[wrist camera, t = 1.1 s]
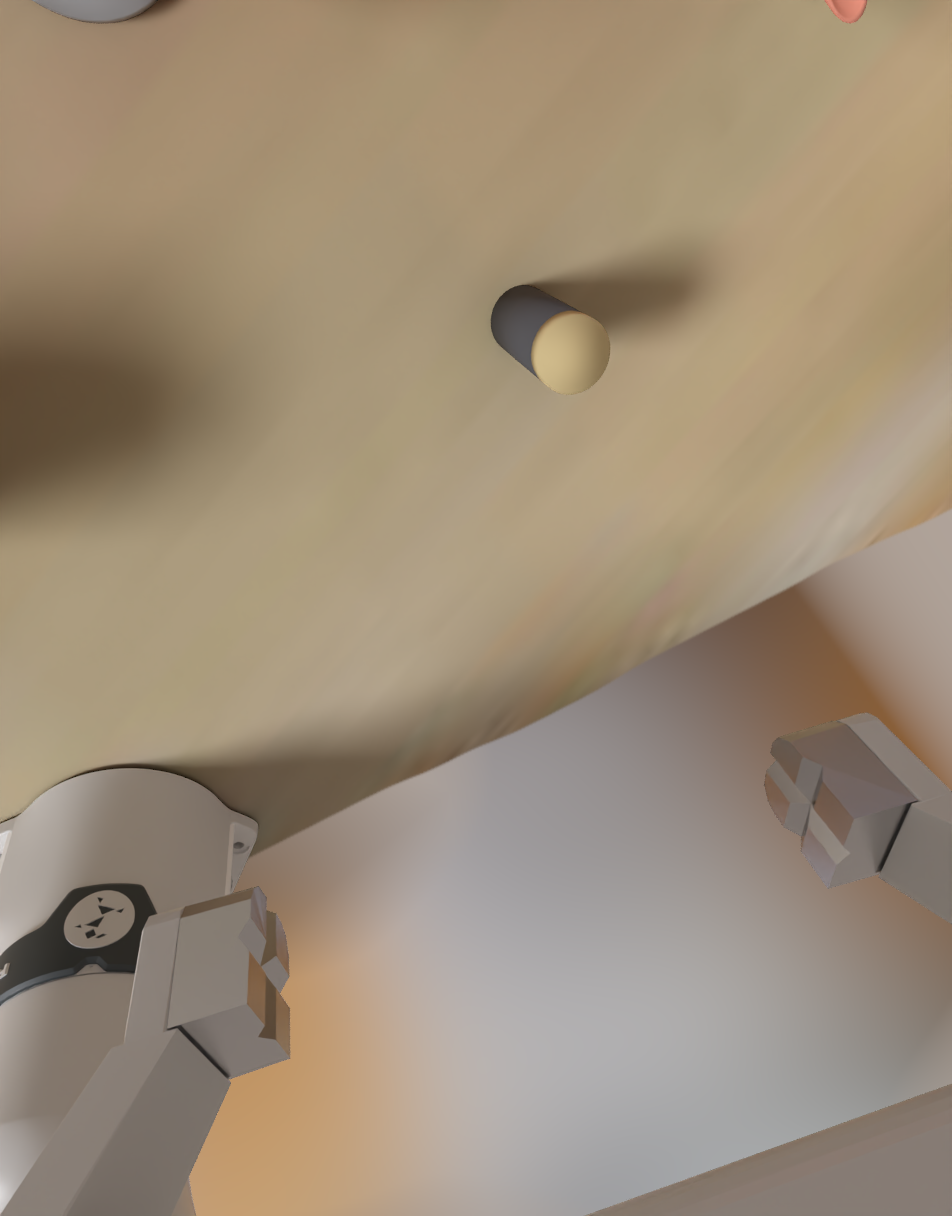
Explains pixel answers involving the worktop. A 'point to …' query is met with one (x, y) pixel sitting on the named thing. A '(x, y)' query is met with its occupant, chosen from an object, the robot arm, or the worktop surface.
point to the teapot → (847, 9)
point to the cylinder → (551, 339)
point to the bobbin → (97, 9)
